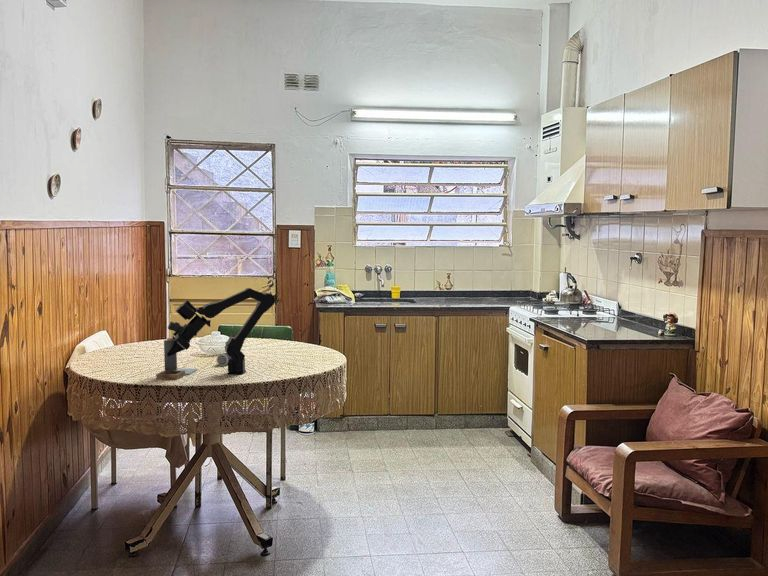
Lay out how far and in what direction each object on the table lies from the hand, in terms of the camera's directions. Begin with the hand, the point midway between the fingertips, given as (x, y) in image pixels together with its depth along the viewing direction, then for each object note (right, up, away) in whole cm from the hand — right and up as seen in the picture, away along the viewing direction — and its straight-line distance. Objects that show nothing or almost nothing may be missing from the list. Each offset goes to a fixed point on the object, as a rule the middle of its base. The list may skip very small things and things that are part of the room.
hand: (167, 354), depth 299 cm
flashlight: (+19, -7, +34) cm, 39 cm away
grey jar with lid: (+1, -7, +1) cm, 7 cm away
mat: (+3, -9, +11) cm, 15 cm away
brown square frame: (+1, -10, +1) cm, 10 cm away
